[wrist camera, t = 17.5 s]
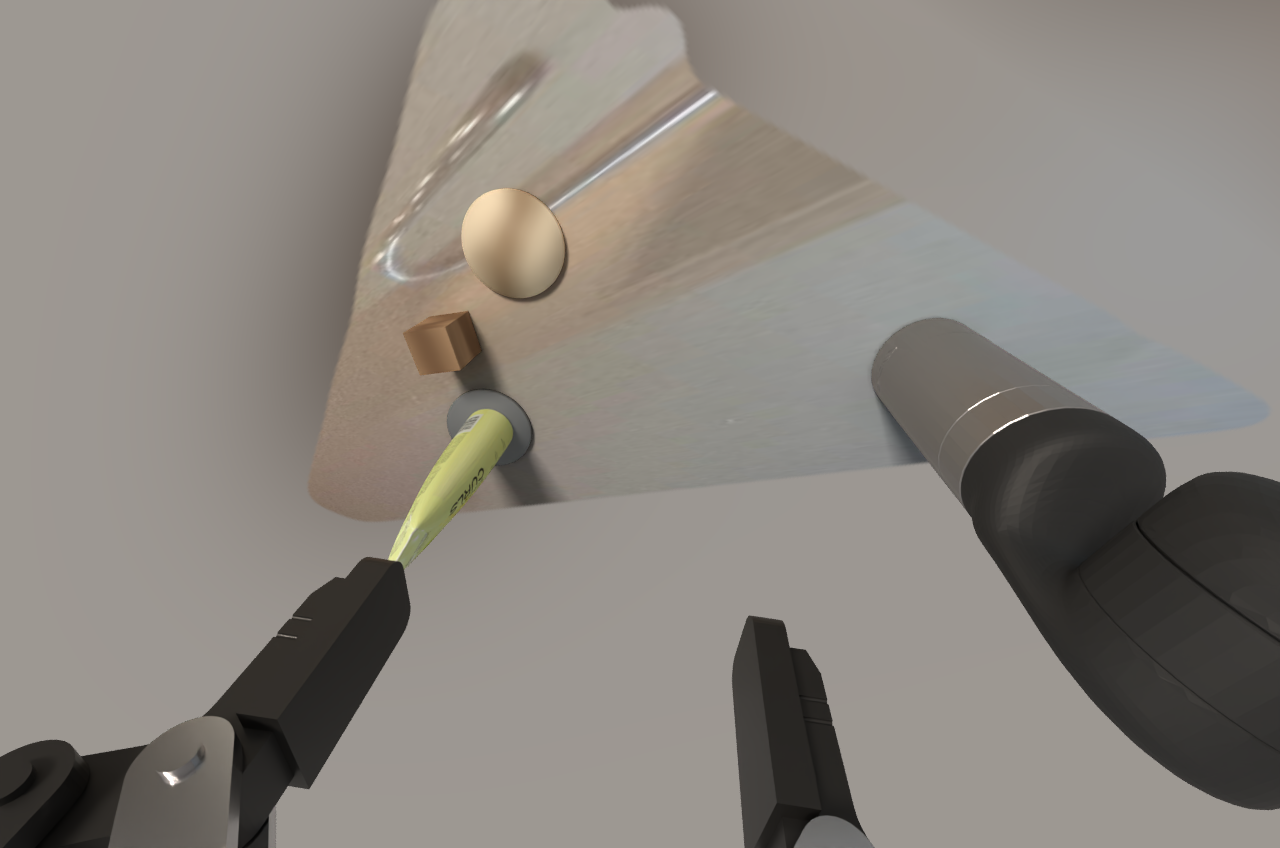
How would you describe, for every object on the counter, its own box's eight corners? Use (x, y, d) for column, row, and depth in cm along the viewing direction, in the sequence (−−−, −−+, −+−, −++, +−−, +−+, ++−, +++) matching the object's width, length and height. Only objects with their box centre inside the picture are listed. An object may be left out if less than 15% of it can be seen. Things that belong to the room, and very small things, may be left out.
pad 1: (566, 195, 40) (565, 195, 40) (563, 302, 45) (562, 304, 44) (460, 182, 41) (457, 182, 40) (467, 289, 45) (465, 291, 44)
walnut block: (468, 311, 46) (445, 327, 42) (481, 350, 48) (460, 370, 44) (429, 316, 47) (403, 333, 42) (444, 355, 49) (420, 375, 44)
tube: (520, 451, 52) (438, 594, 35) (476, 454, 53) (375, 595, 36) (507, 405, 50) (412, 534, 33) (461, 408, 51) (344, 536, 33)
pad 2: (531, 395, 50) (530, 397, 49) (532, 467, 54) (530, 470, 54) (445, 383, 50) (443, 385, 49) (453, 456, 54) (450, 459, 54)
